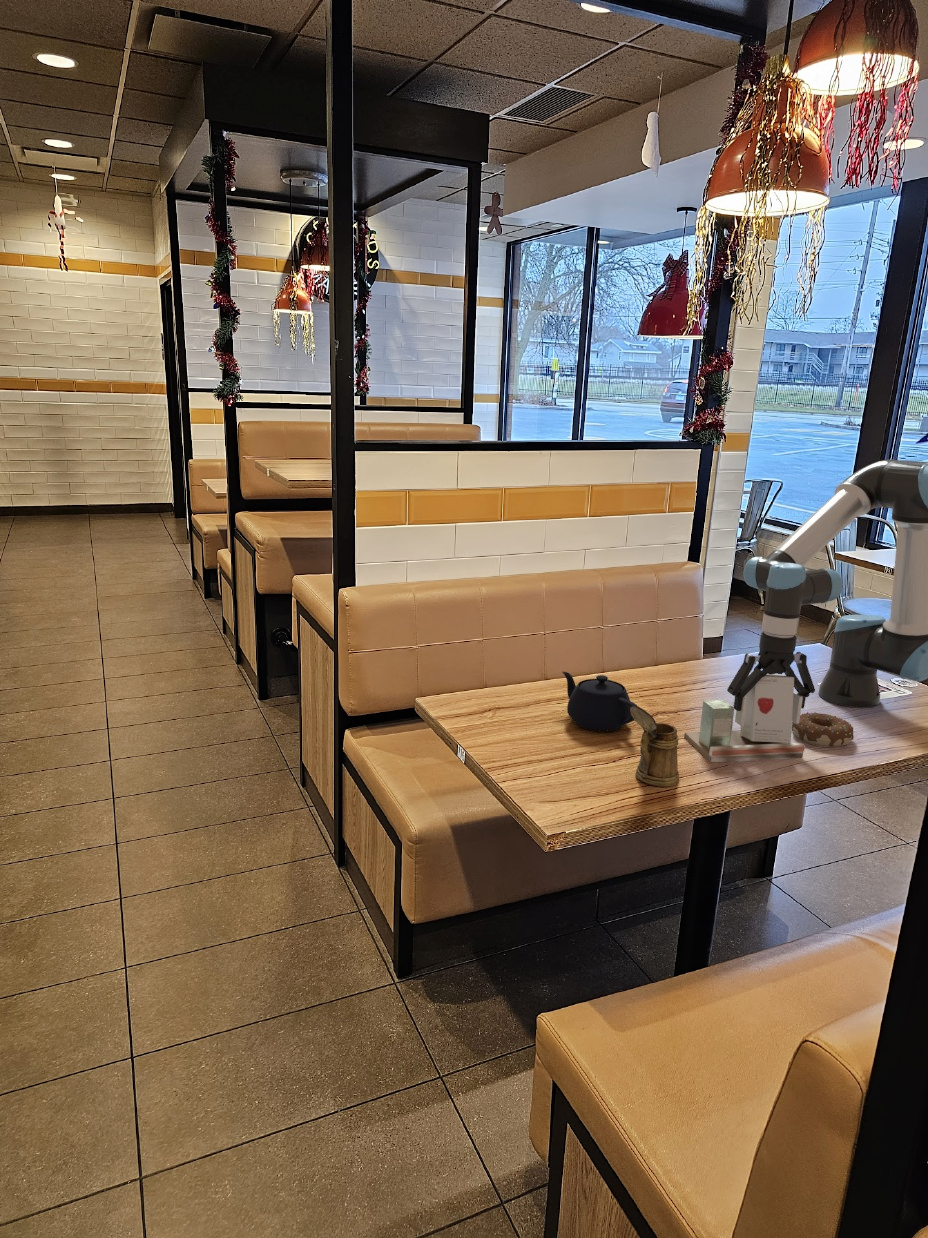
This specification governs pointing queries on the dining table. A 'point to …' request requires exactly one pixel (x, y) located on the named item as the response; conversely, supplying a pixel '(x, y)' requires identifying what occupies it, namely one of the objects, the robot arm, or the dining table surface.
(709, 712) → the tea tin
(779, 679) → the supplement box
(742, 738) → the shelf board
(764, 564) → the robot arm
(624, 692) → the teapot
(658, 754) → the wooden mug
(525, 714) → the dining table surface
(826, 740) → the donut
